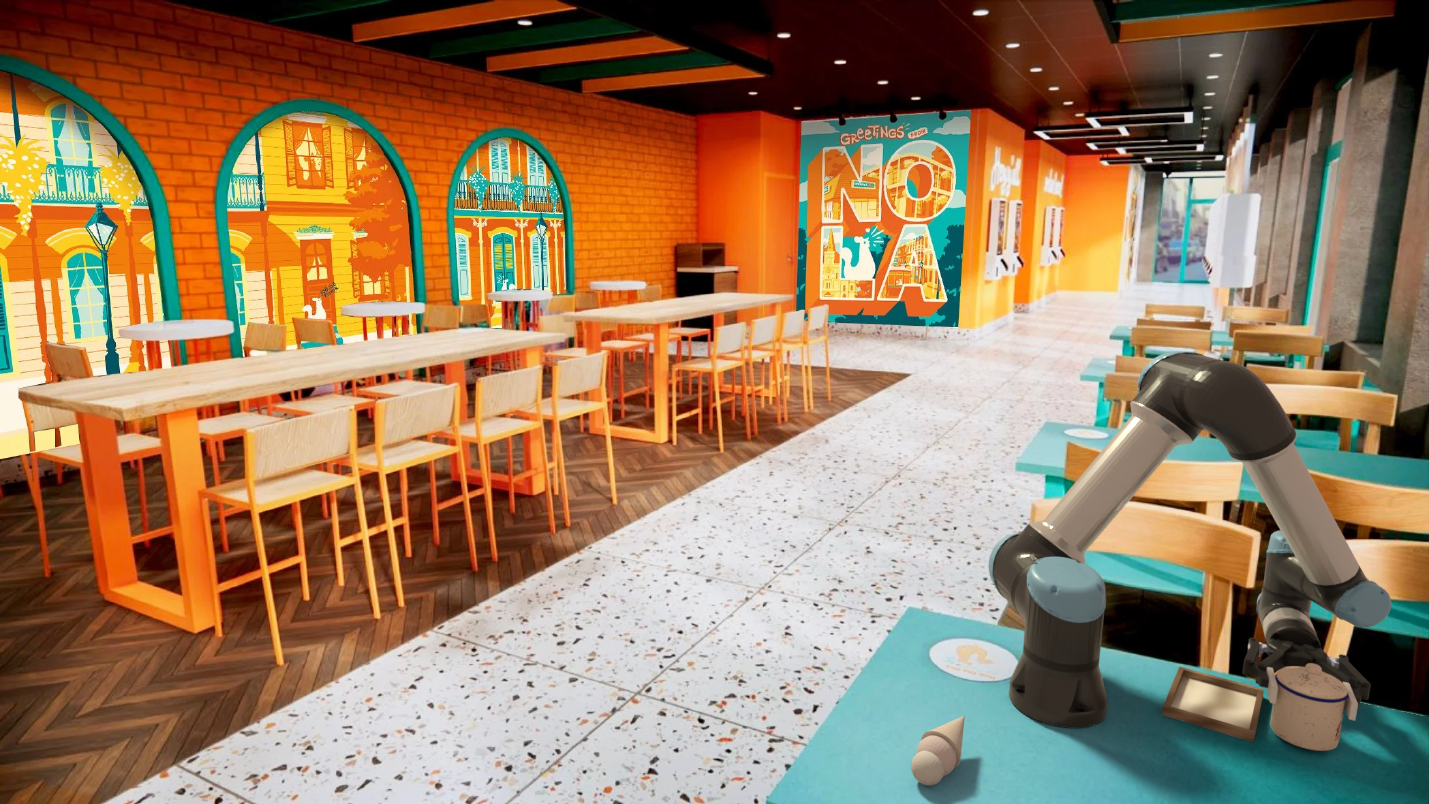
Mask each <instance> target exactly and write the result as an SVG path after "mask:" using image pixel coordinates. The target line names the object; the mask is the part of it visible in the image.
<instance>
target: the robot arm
mask: <svg viewBox="0 0 1429 804" xmlns="http://www.w3.org/2000/svg"><path fill="white" fill-rule="evenodd" d="M1137 384H1138V387H1137V388H1136V391H1137V394H1136V396H1134V398H1133V399H1132V400H1131V402H1130V403H1129V404H1130V405H1129V406H1130V411H1131V416H1130V417H1129V418H1128V420H1127V421H1126V422H1125V423H1123V425H1122V426H1121V428H1120V429H1119V430H1118V431H1117V433H1115V435H1114V436H1113V437H1112V439H1110V441H1109V442H1108V443H1107V444H1106V445H1105V447H1104V448H1103V449H1102V450H1101V452H1100V453H1098V455H1097V456H1096V457H1095V459H1093V461H1092V462H1091V463H1090V464H1089V466H1088V467H1087V468H1086V469H1085V470H1084V472H1083V473H1081V475H1080V476H1079V478H1078V479H1077V480H1076V481H1075V482H1074V484H1073V485H1072V486H1071V487H1070V488H1069V490H1068V491H1066V493H1065V494H1064V495H1063V497H1062V498H1061V499H1060V500H1059V501H1058V503H1057V504H1056V505H1055V506H1054V507H1053V508H1052V510H1051V511H1050V512H1049V513H1048V514H1047V515H1046V517H1045V518H1044V519H1043V520H1041V521H1031V522H1029V523H1028V524H1027V525H1026V526H1025V528H1024V529H1023V530H1022V531H1021V532H1016V533H1013V534H1008V535H1006V536H1004V537H1003V538H1001V539H1000V540H999V541H998V542H997V543H996V544H995V545H994V547H993V548H992V551H991V552H990V555H989V559H988V573H989V576H990V579H991V581H992V583H993V585H994V587H995V589H996V590H997V592H998V593H999V595H1000V596H1001V597H1002V598H1004V599H1005V600H1006V601H1007V602H1008V603H1009V604H1010V606H1012V608H1013V609H1014V611H1016V613H1017V614H1018V615H1020V617H1021V618H1022V619H1023V620H1024V632H1023V646H1022V654H1021V655H1020V658H1019V660H1018V663H1017V664H1016V665H1015V668H1014V670H1013V673H1012V675H1011V677H1010V680H1009V688H1008V697H1009V700H1010V701H1011V704H1012V705H1014V707H1015V708H1016V709H1017V710H1018V711H1020V712H1022V713H1023V714H1025V716H1027V717H1030V718H1031V719H1034V720H1037V721H1038V722H1041V723H1045V724H1048V725H1051V726H1056V727H1061V728H1072V729H1081V728H1088V727H1092V726H1095V725H1097V724H1100V723H1101V722H1102V721H1104V719H1106V717H1107V713H1108V712H1107V711H1108V704H1109V703H1108V701H1109V700H1108V694H1107V691H1106V688H1105V685H1104V679H1103V677H1102V673H1101V669H1100V658H1101V646H1102V638H1103V637H1102V636H1103V627H1104V619H1105V617H1104V615H1105V610H1106V605H1107V597H1106V585H1105V580H1104V579H1103V577H1102V576H1101V575H1100V573H1099V572H1098V571H1096V570H1095V568H1093V567H1092V566H1090V565H1088V564H1086V556H1085V555H1086V552H1087V551H1088V549H1090V547H1091V546H1092V545H1093V544H1094V543H1095V541H1096V540H1097V539H1098V538H1099V537H1100V535H1102V533H1103V532H1104V531H1105V530H1106V528H1108V526H1109V525H1110V524H1111V522H1112V521H1114V519H1115V518H1116V517H1117V515H1119V513H1120V512H1121V511H1122V510H1123V509H1124V507H1126V505H1127V504H1128V503H1129V502H1130V501H1131V499H1132V498H1134V496H1135V495H1136V493H1137V492H1138V491H1139V490H1140V488H1141V487H1142V486H1143V485H1144V484H1145V483H1146V482H1147V481H1148V479H1149V478H1150V477H1151V476H1152V475H1153V473H1155V472H1156V470H1157V469H1158V468H1159V467H1160V465H1162V463H1163V462H1164V461H1165V459H1166V458H1167V457H1168V456H1169V455H1170V454H1171V453H1172V452H1173V450H1175V448H1176V447H1178V446H1182V445H1183V446H1184V445H1191V444H1192V443H1193V442H1194V441H1195V439H1197V438H1198V437H1199V435H1200V434H1201V433H1202V432H1203V431H1206V432H1208V433H1209V434H1210V435H1212V436H1214V437H1215V438H1216V439H1217V440H1218V441H1219V443H1220V442H1221V444H1222V445H1223V446H1224V448H1225V449H1226V450H1227V453H1228V454H1229V456H1230V458H1232V459H1233V460H1234V461H1236V462H1240V463H1242V464H1243V466H1244V468H1245V470H1246V472H1247V473H1248V475H1249V477H1250V479H1251V481H1252V482H1253V484H1254V486H1255V487H1256V489H1257V491H1258V493H1259V495H1260V496H1261V498H1262V500H1263V501H1264V504H1265V505H1266V507H1267V508H1268V511H1269V513H1270V514H1271V516H1272V518H1273V520H1274V522H1275V523H1276V525H1277V527H1278V528H1279V530H1277V531H1274V532H1273V533H1271V535H1270V538H1269V542H1268V547H1267V549H1266V557H1265V558H1266V559H1265V569H1264V579H1263V583H1262V588H1261V593H1259V595H1258V597H1257V599H1256V613H1257V615H1258V618H1259V621H1260V623H1261V627H1262V631H1263V635H1264V638H1265V642H1266V643H1262V642H1261V641H1260V642H1259V640H1258V639H1257V638H1255V637H1254V638H1253V637H1249V638H1248V644H1247V653H1246V655H1245V657H1244V659H1243V667H1242V675H1243V676H1247V677H1251V676H1254V677H1255V683H1256V684H1257V685H1258V687H1259V688H1265V689H1266V693H1267V697H1268V701H1269V703H1270V704H1272V705H1273V704H1276V699H1277V692H1278V686H1277V682H1276V679H1275V675H1276V674H1275V673H1277V672H1278V671H1279V670H1280V669H1282V668H1284V667H1290V666H1298V667H1306V664H1308V663H1313V664H1317V665H1319V666H1320V667H1321V669H1322V671H1323V672H1324V673H1327V674H1329V675H1331V676H1333V677H1335V678H1337V679H1338V680H1340V681H1341V682H1342V683H1343V684H1344V685H1345V686H1346V688H1347V691H1348V698H1347V699H1346V700H1345V706H1344V712H1345V713H1346V715H1347V717H1348V720H1350V721H1354V722H1355V721H1356V719H1357V713H1358V708H1360V705H1361V701H1362V700H1367V701H1368V700H1369V698H1370V693H1371V692H1370V691H1371V685H1372V684H1371V683H1370V682H1369V681H1368V680H1367V678H1366V677H1364V676H1363V674H1361V673H1360V671H1359V670H1357V668H1355V667H1354V665H1352V663H1351V662H1350V661H1349V657H1348V656H1347V655H1345V654H1342V653H1341V654H1339V655H1338V656H1329V655H1328V653H1327V652H1326V651H1324V650H1323V649H1322V648H1323V647H1322V644H1321V642H1320V640H1319V637H1318V635H1317V632H1316V629H1315V628H1314V625H1313V622H1312V620H1311V617H1310V614H1311V607H1312V602H1313V603H1314V604H1316V605H1318V606H1319V607H1321V608H1322V609H1324V610H1326V611H1327V612H1329V613H1330V614H1332V615H1334V616H1335V617H1337V619H1339V620H1341V621H1345V622H1347V623H1349V624H1352V625H1353V626H1355V627H1359V628H1372V627H1374V626H1377V625H1378V624H1380V623H1381V622H1383V621H1384V620H1385V619H1386V618H1387V617H1388V616H1389V613H1390V611H1391V608H1392V599H1391V596H1390V594H1389V593H1388V591H1387V590H1386V589H1384V588H1383V587H1382V586H1380V585H1379V584H1378V583H1377V582H1375V581H1372V580H1369V578H1367V577H1366V575H1365V573H1364V571H1363V569H1362V567H1361V566H1360V564H1359V562H1358V560H1357V558H1356V557H1355V555H1354V553H1353V551H1352V549H1351V548H1350V546H1349V543H1348V542H1347V540H1346V538H1345V536H1344V535H1343V533H1342V530H1341V529H1340V527H1339V525H1338V523H1337V521H1336V520H1335V518H1334V516H1333V514H1332V513H1331V510H1330V509H1329V507H1328V505H1327V503H1326V501H1325V499H1324V498H1323V495H1322V494H1321V491H1320V489H1319V488H1318V486H1317V485H1316V482H1315V481H1314V479H1313V477H1312V475H1311V473H1310V471H1309V468H1307V466H1306V464H1305V462H1304V460H1303V459H1302V456H1301V454H1300V453H1299V451H1298V449H1297V447H1296V445H1295V441H1296V440H1297V437H1298V434H1297V431H1296V429H1295V427H1294V425H1293V424H1292V422H1291V420H1290V418H1289V416H1288V414H1287V413H1286V411H1285V410H1284V408H1283V406H1282V405H1281V403H1280V402H1279V400H1278V399H1277V397H1276V396H1275V395H1274V393H1273V392H1272V390H1271V389H1270V388H1269V386H1267V384H1266V383H1265V382H1264V381H1263V380H1262V379H1261V378H1260V377H1259V376H1258V375H1257V374H1256V373H1255V372H1253V371H1252V370H1251V369H1249V368H1248V367H1246V366H1244V365H1242V364H1239V363H1236V362H1232V361H1227V360H1222V359H1218V358H1216V357H1210V356H1207V355H1204V354H1202V353H1200V352H1199V353H1198V352H1195V351H1182V350H1180V351H1178V350H1177V351H1169V352H1165V353H1162V354H1160V355H1158V356H1156V357H1154V358H1153V359H1152V360H1150V361H1149V362H1148V363H1147V364H1146V365H1145V366H1144V367H1143V369H1142V370H1141V372H1140V374H1139V376H1138V380H1137ZM1264 653H1266V655H1268V656H1267V657H1265V658H1264V659H1262V660H1261V661H1260V662H1258V660H1259V658H1261V656H1262V655H1263V654H1264Z"/></svg>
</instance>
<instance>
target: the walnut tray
mask: <svg viewBox="0 0 1429 804" xmlns="http://www.w3.org/2000/svg"><path fill="white" fill-rule="evenodd" d="M1264 694H1265V689H1264V688H1262V687H1259V686H1258V687H1256V686H1253V685H1249V684H1246V683H1242V682H1238V681H1235V680H1231V679H1228V678H1224V677H1221V676H1217V675H1212V674H1209V673H1205V672H1201V671H1197V670H1194V669H1191V668H1186V667H1183V666H1179V667H1178V668H1177V671H1176V674H1175V676H1174V679H1173V681H1172V683H1171V686H1170V688H1169V691H1168V693H1167V695H1166V698H1165V701H1164V703H1163V705H1162V710H1161V712H1162V713H1161V715H1162V716H1165V717H1168V718H1171V719H1174V720H1177V721H1181V722H1185V723H1186V724H1187V723H1188V724H1191V725H1194V726H1197V727H1201V728H1204V729H1207V730H1211V731H1214V732H1217V733H1221V734H1224V735H1228V736H1231V737H1233V738H1237V739H1241V740H1244V741H1248V742H1251V743H1254V742H1255V737H1256V733H1257V727H1258V723H1259V719H1260V714H1261V709H1262V703H1263V699H1264Z"/></svg>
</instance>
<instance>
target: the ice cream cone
mask: <svg viewBox="0 0 1429 804" xmlns="http://www.w3.org/2000/svg"><path fill="white" fill-rule="evenodd" d="M965 716H966V715H963V716H960V717H959V718H956V719H953V720H952V721H948V722H947V723H945V724H942V725H940V726H937V727H935V728H933V729H930V730H929V731H927V732H925V733H923V734H922V736H921V740H920V742H919V743H918V745H917V748H916V751H915V752H916V753H915V754H916V755H914V756H913V758H912V759H911V760H912V761H911V764H910V766H911V773H912V775H913V777H914V779H915V780H916V781H917V782H919V783H920V784H922V785H924V786H935V785H937V784H939V783H940V782H941V781H942V779H943V777H945V776H947V775H949V774H950V773H951V772H952V771H953V770H954V768H957V767H958V766H959V764H960V763H961V760H962V759H961V758H962V748H963V747H962V746H963V738H964V729H965V728H964V726H965V719H966V717H965Z"/></svg>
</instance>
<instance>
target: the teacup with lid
mask: <svg viewBox="0 0 1429 804" xmlns="http://www.w3.org/2000/svg"><path fill="white" fill-rule="evenodd" d="M1274 675H1275V679H1276V682H1277V686H1278V692H1277V699H1276V704H1273V703H1272V709H1271V718H1270V728H1271V729H1272V732H1274V734H1275V735H1277V736H1278V737H1279V738H1280V739H1282V740H1283V741H1285V742H1287V743H1289V744H1291V745H1293V746H1296V747H1300V748H1303V749H1305V750H1310V751H1319V752H1325V751H1331V750H1334V749H1336V748H1337V747H1338V746H1339V742H1340V737H1341V736H1340V735H1341V730H1342V724H1343V718H1344V713H1345V708H1344V706H1345V700H1346V699H1347V698H1348V691H1347V688H1346V686H1345V685H1344V684H1343V683H1342V682H1341V681H1340V680H1338V679H1337V678H1335V677H1333V676H1331V675H1329V674H1327V673H1324V672H1323V671H1322V669H1321V667H1320V666H1319V665H1317V664H1313V663H1308V664H1306V667H1298V666H1290V667H1284V668H1282V669H1280V670H1278V671H1277V672H1276V674H1274Z"/></svg>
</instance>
